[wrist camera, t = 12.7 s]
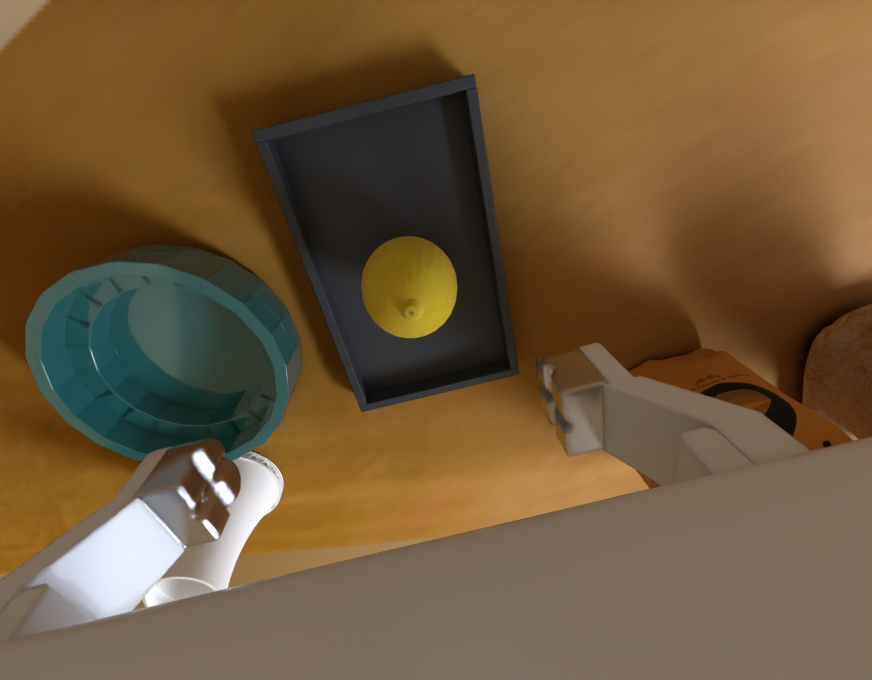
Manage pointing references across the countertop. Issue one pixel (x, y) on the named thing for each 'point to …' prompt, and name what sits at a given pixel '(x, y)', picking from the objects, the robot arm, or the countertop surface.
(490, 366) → the tray
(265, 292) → the bowl
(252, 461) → the vase
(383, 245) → the lemon
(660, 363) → the coffee package
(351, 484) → the countertop surface
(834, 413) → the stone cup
